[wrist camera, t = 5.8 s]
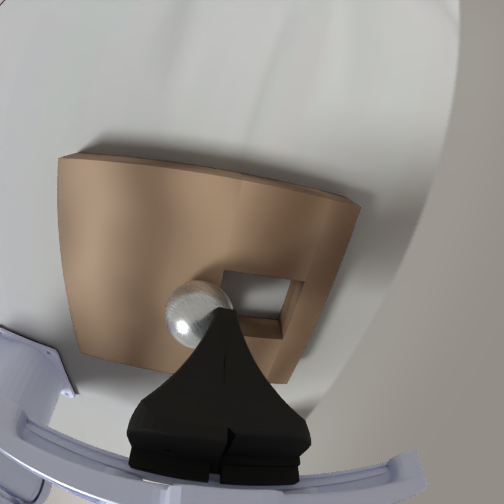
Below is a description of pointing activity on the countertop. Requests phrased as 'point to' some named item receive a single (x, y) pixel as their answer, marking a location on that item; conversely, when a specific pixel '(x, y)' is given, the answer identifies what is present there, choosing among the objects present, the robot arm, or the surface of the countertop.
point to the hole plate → (190, 253)
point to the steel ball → (193, 310)
